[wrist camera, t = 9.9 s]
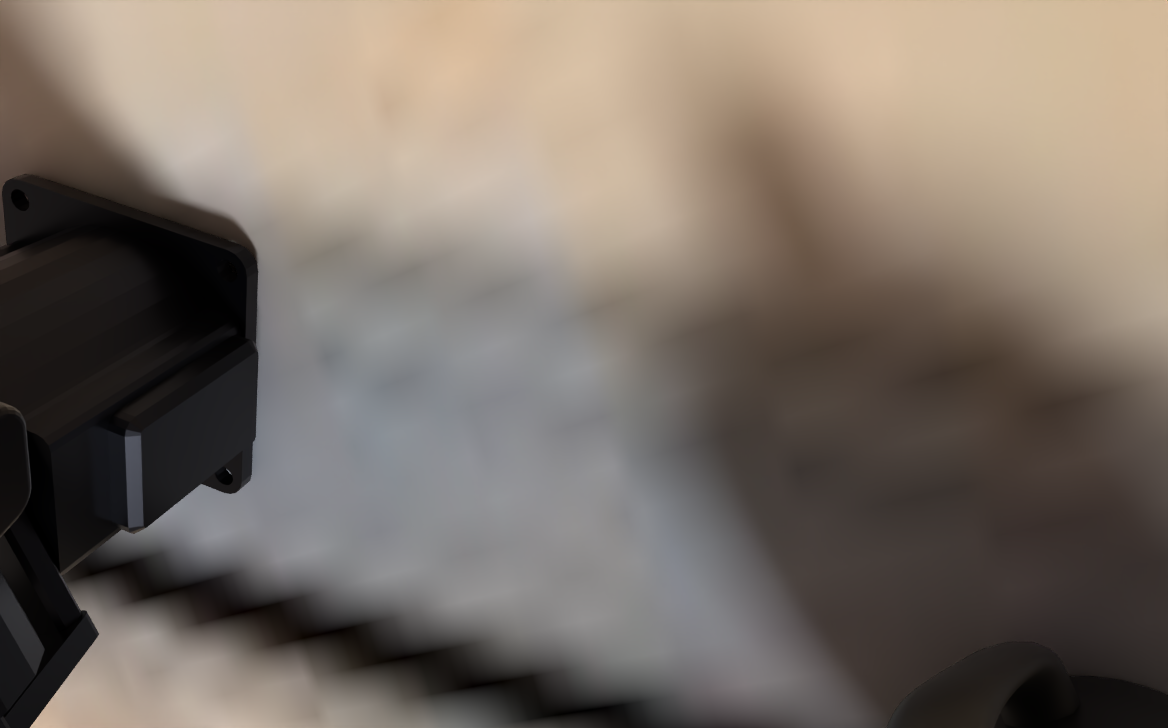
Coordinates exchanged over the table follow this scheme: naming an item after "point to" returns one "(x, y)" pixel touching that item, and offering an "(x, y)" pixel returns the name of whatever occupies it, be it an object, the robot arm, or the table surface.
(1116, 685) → the mug
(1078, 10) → the table surface
